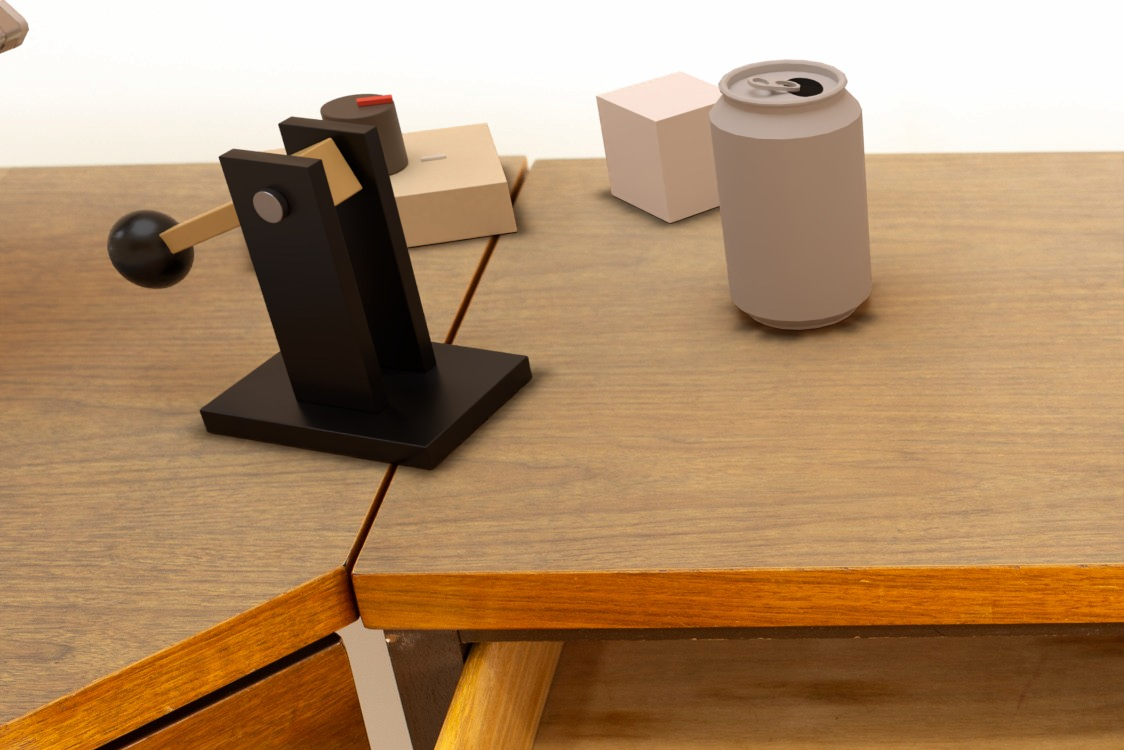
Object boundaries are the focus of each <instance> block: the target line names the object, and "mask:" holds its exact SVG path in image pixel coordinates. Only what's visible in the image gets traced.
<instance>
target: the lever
mask: <svg viewBox="0 0 1124 750" xmlns="http://www.w3.org/2000/svg"><path fill="white" fill-rule="evenodd" d="M291 156H299V157H308V158H316V159H322V162H323V165H324V169H325V172H326V176H327V180H328V183H329V187H330V190H331V194H332V198H333V201H334V205H335V206H337V205H338V204H340V203H341V202H343V201H344V200H346V199H348V198H349V197H351V196H352V195H354V194H355V193H357V192H358V191H360V190H362V186H361V185H360V183H359V181H358V180H357V178H356V177H355V175H354V173H353V172H352V170H351V169H350V167H349V165H348V164H347V162H346V161H345V159H344V157H343V156H342V154H341V153H340V151H339V149H338V148H337V146H336V145H335V143H334V141H333V140H332V139H331V138H328V139H326V140H324V141H321V142H319V143H317V144H315V145H312V146H310V147H308V148H306V149H303V150H301V151H299V152H297V153H294V154H292V155H291ZM239 227H241V226H240V223H239V220H238V217H237V214H236V211H235V208H234V204H233V201H232V200H231V201H228V202H226V203H223V204H222V205H219V206H217V207H214V208H211V209H209V210H208V211H205V212H203V213H200V214H198V215H196V216H194V217H191V218H189V219H187V220H184V221H182V222H180V221H178V220H176V219H175V218H174V217H172V216H171V215H168V214H167V213H164V212H162V211H158V210H155V209H154V210H153V209H138V210H133V211H130V212H127V213H126V214H124V215H122V216H121V217H119V218H118V219H117V220H116V221H115V222H114V223H113V225H112V226H111V228H110V230H109V232H108V235H107V241H106V248H107V254H108V257H109V260H110V262H111V264H112V266H113V268H114V269H115V270H116V271H117V273H119V275H120V276H121V277H123V278H124V279H125V280H127V282H129V283H131V284H133V285H135V286H137V287H140V288H144V289H147V290H148V289H149V290H162V289H163V290H164V289H168V288H170V287H173V286H176V285H178V284H179V283H181V282H182V281H183V280H185V278H187V276H188V275H189V273H190V272H191V270H192V268H193V266H194V262H195V247H194V246H197V245H198V244H201V243H204V242H206V241H208V240H210V239H213V238H215V237H218V236H220V235H222V234H225V233H227V232H230V231H232V230H234V229H236V228H237V229H238V228H239Z"/></svg>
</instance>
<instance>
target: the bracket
mask: <svg viewBox="0 0 1124 750" xmlns="http://www.w3.org/2000/svg"><path fill="white" fill-rule="evenodd" d="M277 126H278V129H279V130H278V131H279V133H280V136H281V140H282V143H283V146H284V147H283V148H285V150H286V154H287V155H283V154H275V153H266V152H258V151H259V150H257V151H256V150H248V149H241V148H231V149H230V150H228V151H226V152H224V153H222V154H221V155H219V156H218V160H219V163H220V167H221V170H222V173H223V176H224V179H225V182H226V186H227V189H228V193H229V195H230V198H231V201H233V204H234V208H235V211H236V214H237V217H238V220H239V223H240V226H239V227H240V229H241V232H242V235H243V239H244V242H245V245H246V248H247V251H248V254H249V257H250V260H251V264H252V267H253V270H254V273H255V276H256V279H257V283H258V286H259V289H260V291H261V295H262V298H263V301H264V304H265V309H266V310H267V314H268V317H269V320H270V323H271V326H272V329H273V333H274V336H275V339H276V343H277V345H278V349H279V350H278V352H276V353H275V354H274V355H272V356H271V357H270V358H268V359H267V360H265V361H264V362H263V363H261V364H260V365H259V366H258V367H256V368H255V369H253V370H252V371H250V372H249V373H247V374H246V375H245V376H243V377H242V378H241V379H239V380H238V381H237V382H235V383H233V384H232V385H230V386H229V387H228V388H227V389H225V390H224V391H223V392H221V393H220V394H219V395H217V396H216V397H215V398H213V399H212V400H210V401H209V402H208V403H206V404H205V405H203V406H202V407H201V408H200V409H198V410H199V414H200V416H201V419H202V422H203V425H204V427H205V430H206V432H207V433H213V434H219V435H225V436H230V437H235V438H236V437H237V438H242V439H249V440H254V441H260V442H266V443H271V444H278V445H283V446H289V447H290V446H291V447H295V448H302V449H307V450H313V451H319V452H326V453H330V454H337V455H343V456H349V457H353V458H355V457H356V458H359V459H360V458H361V459H365V460H366V459H367V460H373V461H379V462H385V463H391V464H396V465H401V466H402V465H403V466H408V467H414V468H418V469H420V468H421V469H426V470H434V469H435V467H437V466H438V465H439V464H440V463H441V462H442V461H443V460H444V459H446V458H447V456H449V455H450V454H451V453H452V452H453V451H454V450H455V449H456V448H457V447H458V446H460V445H461V444H462V443H463V442H464V441H465V440H466V439H467V438H468V437H469V436H470V435H471V434H473V432H475V431H476V430H477V429H478V428H479V427H480V426H481V425H482V424H484V422H486V420H488V419H489V418H490V417H491V416H492V415H494V413H495V412H496V411H497V410H498V409H500V408H501V407H502V406H503V405H504V404H506V402H507V401H508V400H510V399H511V398H512V397H513V396H514V395H515V394H516V393H517V392H518V391H519V390H521V389H522V388H523V386H525V385H526V384H527V383H528V382H529V381H530V380H531V379H532V378H533V374H532V369H531V365H530V360H529V356H528V355H524V354H518V353H511V352H505V351H498V350H491V349H486V348H485V349H484V348H478V347H472V346H471V347H470V346H464V345H457V344H451V343H444V342H438V341H432V339H431V335H430V331H429V327H428V323H427V319H426V316H425V311H424V308H423V307H424V306H423V304H422V300H421V296H420V292H419V288H418V283H417V280H416V276H415V275H416V274H415V272H414V269H413V263H412V260H411V256H410V251H409V247H407V243H406V239H405V235H404V232H403V228H402V224H401V220H400V216H399V212H398V208H397V204H396V200H395V196H394V192H393V188H392V184H391V180H390V176H389V172H388V168H387V164H386V160H385V156H384V152H383V148H382V144H381V140H380V136H379V132H378V128H377V126H371V125H362V124H353V123H345V122H336V121H327V120H322V119H317V118H309V117H300V116H293V115H292V116H290V117H287V118H286V119H284V120H282V121H281V122H279V123H278V124H277ZM328 138H331V139H332V140H333V141H334V143H335V145H336V146H337V148H338V149H339V151H340V153H341V154H342V156H343V157H344V159H345V161H346V162H347V164H348V165H349V167H350V169H351V170H352V172H353V173H354V175H355V177H356V178H357V180H358V181H359V183H360V185H361V186H362V190H360V191H358V192H357V193H355V194H354V195H352V196H351V197H349V198H348V199H346V200H344V201H343V202H341V203H340V204H338V205H337V206H335V205H334V201H333V198H332V194H331V190H330V187H329V183H328V180H327V176H326V172H325V169H324V165H323V162H322V159H316V158H308V157H299V156H291V155H292V154H294V153H297V152H299V151H301V150H303V149H306V148H308V147H310V146H312V145H315V144H317V143H319V142H321V141H324V140H326V139H328Z"/></svg>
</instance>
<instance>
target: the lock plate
mask: <svg viewBox="0 0 1124 750" xmlns="http://www.w3.org/2000/svg"><path fill="white" fill-rule="evenodd" d="M402 136H403V140H404V145H405V149H406V153H407V157H408V164H407V166H406V167H405V168H403V169H402V170H400V171H398V172H396V173H393V174H390V175H389V176H390V180H391V184H392V188H393V192H394V196H395V200H396V204H397V208H398V212H399V216H400V220H401V224H402V228H403V232H404V235H405V239H406V243H407V247H408V248H412V247H419V246H426V245H433V244H440V243H448V242H454V241H461V240H467V239H469V240H470V239H474V238H482V237H488V236H496V235H502V234H503V235H504V234H508V233H509V234H510V233H515V232H518V227H517V224H516V218H515V214H514V209H513V204H512V203H513V202H512V199H511V194H510V190H509V189H510V188H509V184H508V181H507V177H506V174H505V172H504V169H503V166H502V162H501V160H500V155H499V154H498V151H497V148H496V145H495V142H494V138H493V136H492V133H491V130H490V126H489V124H488V122H482V123H474V124H466V125H459V126H450V127H442V128H434V129H426V130H417V131H410V132H402ZM257 151H258V152H266V153H275V154H283V155H287V154H286V150H285V147H282V148H274V149H265V150H257Z"/></svg>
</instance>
